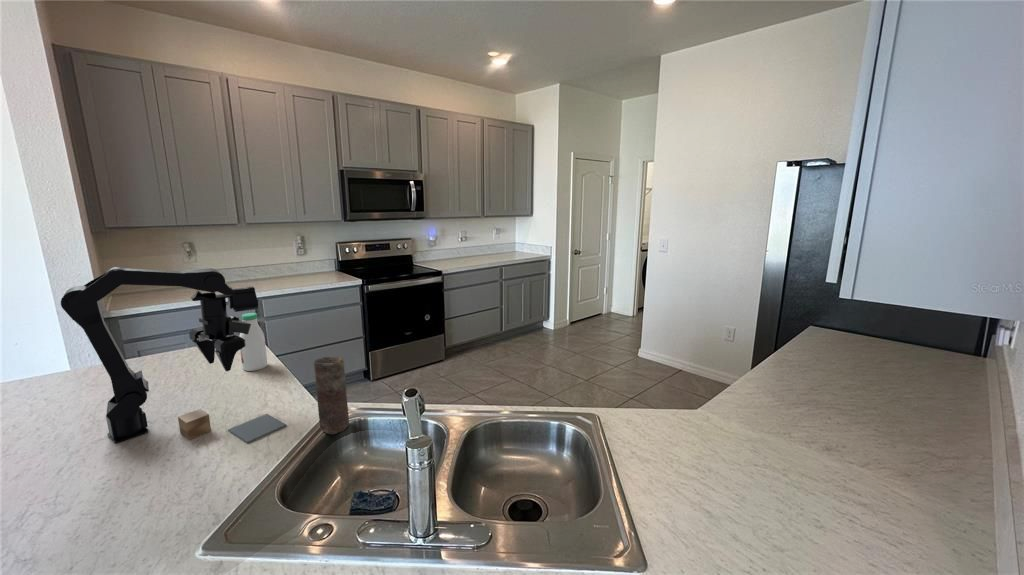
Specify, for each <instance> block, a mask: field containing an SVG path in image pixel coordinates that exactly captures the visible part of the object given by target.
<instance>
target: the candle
mask: <svg viewBox="0 0 1024 575" xmlns="http://www.w3.org/2000/svg"><path fill="white" fill-rule="evenodd" d="M313 367H314V375H315V376H314V377H315V385H316V397H317V410H318V420H319V422H318V423H319V428H320V430H321V431H322V432H324V433H326V434H328V435H335V434H338V433H340V432H341V433H342V432H343V431H344V430H345V429H346V428H347V427H348V426H349V425H350V415H349V414H350V413H349V406H348V397H347V396H348V395H347V386H346V372H345V362H344V358H343V356H340V357H338V356H335V357H334V356H324V357H321V358H318V359H315V360H313Z"/></svg>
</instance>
